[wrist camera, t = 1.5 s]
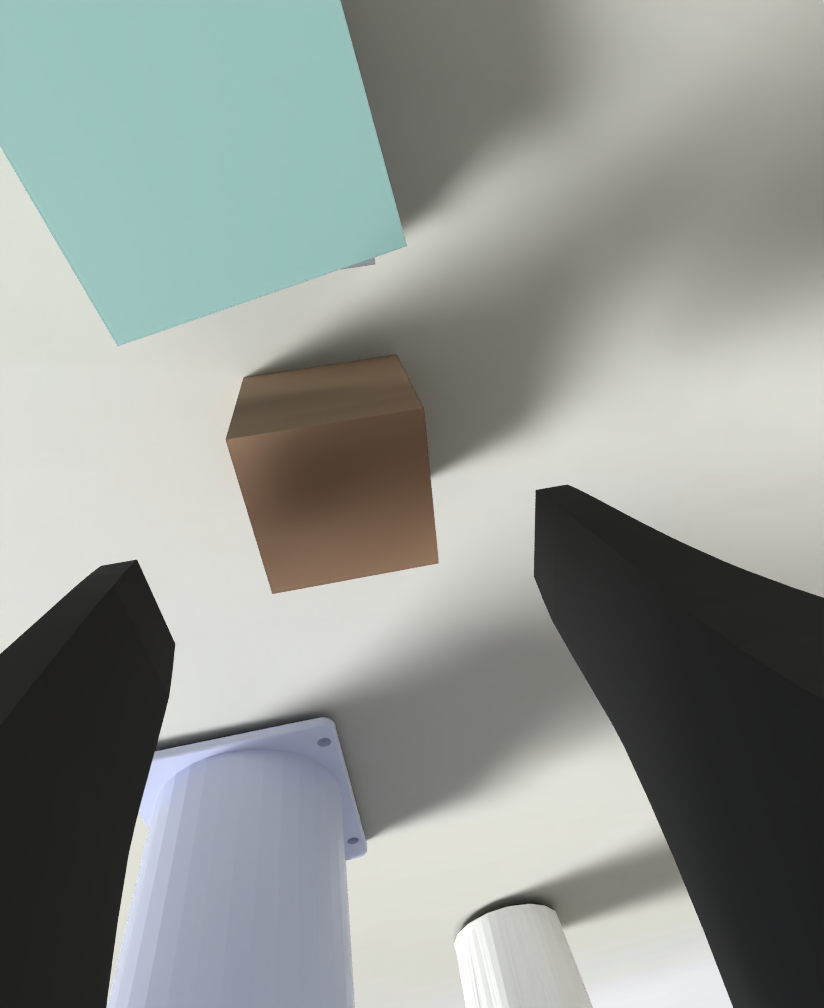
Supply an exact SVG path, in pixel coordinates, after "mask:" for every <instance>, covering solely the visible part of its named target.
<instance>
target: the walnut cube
mask: <svg viewBox="0 0 824 1008" xmlns="http://www.w3.org/2000/svg"><path fill="white" fill-rule="evenodd" d="M226 443H227V446H228V449H229V452H230V456H231V459H232V462H233V466H234V469H235V472H236V476H237V479H238V482H239V485H240V489H241V492H242V495H243V499H244V502H245V505H246V508H247V512H248V515H249V518H250V522H251V525H252V528H253V532H254V535H255V538H256V541H257V545H258V548H259V551H260V555H261V558H262V561H263V565H264V568H265V571H266V574H267V578H268V581H269V584H270V588H271V591H272V594H275V593H280V592H286V591H291V590H296V589H302V588H307V587H313V586H318V585H323V584H329V583H334V582H340V581H345V580H351V579H356V578H361V577H367V576H372V575H378V574H383V573H388V572H394V571H399V570H405V569H410V568H415V567H421V566H426V565H432V564H437V563H439V562H438V551H437V541H436V530H435V520H434V509H433V499H432V488H431V478H430V468H429V457H428V447H427V436H426V426H425V415H424V408H423V406H422V404H421V402H420V400H419V398H418V396H417V394H416V392H415V390H414V388H413V386H412V384H411V382H410V380H409V378H408V376H407V374H406V372H405V370H404V368H403V366H402V364H401V362H400V360H399V358H398V356H397V355H391V356H385V357H378V358H371V359H365V360H358V361H351V362H345V363H338V364H331V365H325V366H318V367H312V368H305V369H298V370H292V371H285V372H278V373H272V374H265V375H258V376H252V377H245V378H243V382H242V385H241V388H240V392H239V395H238V399H237V402H236V406H235V409H234V413H233V416H232V420H231V423H230V426H229V430H228V433H227V437H226Z"/></svg>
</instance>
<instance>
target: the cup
mask: <svg viewBox="0 0 824 1008" xmlns="http://www.w3.org/2000/svg"><path fill="white" fill-rule="evenodd" d="M454 946H455V949H456V952H457V958H458V963H459V969H460V975H461V981H462V986H463V992H464V998H465V1004H466V1008H593V1007H592V1004H591V1001H590V999H589V996H588V994H587V991H586V988H585V986H584V983H583V981H582V978H581V976H580V973H579V970H578V968H577V965H576V963H575V960H574V957H573V955H572V952H571V950H570V947H569V945H568V942H567V939H566V937H565V934H564V932H563V929H562V926H561V924H560V921H559V919H558V916H557V914H556V911H554V910H552V909H550V908H549V907H547V906H545V905H536V904H523V905H515V906H508V907H505V908H502V909H498V910H495V911H492V912H489V913H486V914H485V915H483V916H481V917H479V918H477V919H476V920H474V921H472V922H470V923H469V924H468V925H467V926H466V927H464V928H463V929H462V930H461V931H460V932H459V933H458V935H457V938H456V941H455V944H454Z"/></svg>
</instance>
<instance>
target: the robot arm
mask: <svg viewBox="0 0 824 1008" xmlns="http://www.w3.org/2000/svg"><path fill="white" fill-rule="evenodd" d="M534 578H535V580H536V583H537V585H538V588H539V590H540V593H541V595H542V598H543V600H544V603H545V605H546V607H547V609H548V612H549V614H550V616H551V619H552V621H553V623H554V625H555V626H556V628H557V630H558V632H559V633H560V635H561V637H562V639H563V640H564V642H565V644H566V646H567V647H568V649H569V651H570V653H571V654H572V656H573V658H574V659H575V661H576V663H577V664H578V666H579V668H580V670H581V671H582V673H583V675H584V676H585V678H586V680H587V681H588V683H589V685H590V687H591V688H592V690H593V692H594V693H595V695H596V697H597V698H598V700H599V702H600V704H601V705H602V707H603V709H604V710H605V712H606V714H607V715H608V717H609V719H610V721H611V722H612V724H613V726H614V728H615V730H616V732H617V734H618V736H619V737H620V739H621V741H622V743H623V745H624V747H625V749H626V751H627V754H628V756H629V758H630V760H631V762H632V765H633V767H634V769H635V771H636V773H637V775H638V778H639V780H640V782H641V784H642V786H643V788H644V791H645V793H646V795H647V797H648V799H649V802H650V804H651V806H652V809H653V811H654V813H655V815H656V818H657V820H658V822H659V825H660V827H661V829H662V832H663V834H664V836H665V838H666V841H667V843H668V845H669V848H670V850H671V852H672V855H673V857H674V859H675V862H676V864H677V866H678V869H679V871H680V874H681V876H682V879H683V881H684V884H685V886H686V888H687V891H688V893H689V896H690V898H691V901H692V903H693V906H694V908H695V910H696V913H697V915H698V918H699V920H700V923H701V925H702V928H703V930H704V932H705V935H706V938H707V940H708V943H709V946H710V948H711V951H712V953H713V956H714V959H715V961H716V964H717V966H718V969H719V972H720V974H721V977H722V979H723V982H724V985H725V987H726V990H727V992H728V995H729V998H730V1000H731V1003H732V1005H733V1008H824V598H823V597H820V596H816V595H813V594H810V593H807V592H804V591H801V590H798V589H795V588H792V587H790V586H787V585H784V584H781V583H779V582H776V581H773V580H771V579H768V578H765V577H763V576H760V575H757V574H754V573H752V572H749V571H746V570H744V569H741V568H739V567H736V566H734V565H731V564H729V563H727V562H724V561H722V560H720V559H717V558H715V557H713V556H711V555H708V554H706V553H704V552H702V551H699V550H697V549H695V548H693V547H690V546H688V545H686V544H684V543H682V542H680V541H678V540H676V539H674V538H671V537H669V536H667V535H665V534H663V533H661V532H659V531H657V530H655V529H653V528H651V527H649V526H647V525H645V524H643V523H642V522H640V521H638V520H636V519H634V518H632V517H630V516H628V515H626V514H624V513H622V512H621V511H619V510H617V509H615V508H613V507H611V506H609V505H607V504H605V503H604V502H602V501H600V500H598V499H596V498H594V497H592V496H590V495H588V494H586V493H584V492H582V491H580V490H578V489H576V488H574V487H572V486H570V485H562V486H557V487H551V488H545V489H539V490H536V504H535V551H534ZM174 650H175V642H174V640H173V638H172V636H171V634H170V631H169V629H168V627H167V625H166V623H165V620H164V618H163V616H162V614H161V612H160V609H159V607H158V605H157V603H156V601H155V598H154V596H153V594H152V592H151V590H150V587H149V585H148V583H147V581H146V579H145V576H144V574H143V572H142V570H141V567H140V565H139V563H138V561H137V560H132V561H127V562H121V563H115V564H109V565H104V566H100V567H99V568H98V569H96V570H95V571H94V572H92V573H91V574H90V575H89V576H87V577H86V578H85V579H84V580H83V581H82V582H80V583H79V584H78V585H77V586H76V587H75V588H73V589H72V590H71V591H70V592H69V593H68V594H67V595H66V596H64V597H63V598H62V599H61V600H60V601H59V602H58V603H57V604H56V605H54V606H53V607H52V608H51V609H50V610H49V611H48V612H47V613H46V614H45V615H43V616H42V617H41V618H40V619H39V620H38V621H37V622H36V623H34V624H33V625H32V626H31V627H30V628H29V629H28V630H27V631H26V632H24V633H23V634H22V635H21V636H20V637H19V638H18V639H17V640H16V641H14V642H13V643H12V644H11V645H10V646H9V647H8V648H7V649H5V650H4V651H3V652H2V653H1V654H0V1008H106V1005H107V996H108V988H109V981H110V974H111V966H112V959H113V952H114V945H115V937H116V930H117V923H118V916H119V910H120V904H121V898H122V892H123V885H124V879H125V873H126V867H127V861H128V855H129V850H130V845H131V841H132V837H133V832H134V828H135V823H136V819H137V816H138V813H139V814H140V816H141V817H142V819H143V820H144V822H145V824H146V825H147V827H148V828H149V829H148V834H147V838H146V842H145V847H144V851H143V855H142V859H141V864H140V868H139V872H138V876H137V881H136V885H135V889H134V894H133V898H132V902H131V906H130V911H129V915H128V919H127V923H126V928H125V932H124V936H123V941H122V945H121V949H120V953H119V958H118V962H117V966H116V971H115V975H114V979H113V983H112V988H111V992H110V996H109V1000H108V1005H107V1008H355V1002H354V986H353V970H352V954H351V937H350V921H349V905H348V889H347V873H346V860H350V859H354V858H358V857H361V856H363V855H364V854H365V853H366V852H367V842H366V838H365V835H364V831H363V827H362V824H361V820H360V816H359V812H358V809H357V805H356V801H355V798H354V794H353V790H352V786H351V783H350V779H349V775H348V772H347V768H346V764H345V760H344V757H343V753H342V749H341V745H340V742H339V738H338V734H337V731H336V727H335V723H334V722H333V720H331V719H329V718H325V717H320V718H315V719H310V720H305V721H300V722H295V723H290V724H286V725H281V726H276V727H271V728H266V729H261V730H256V731H252V732H247V733H242V734H237V735H232V736H227V737H222V738H218V739H213V740H208V741H203V742H198V743H193V744H188V745H184V746H179V747H174V748H169V749H164V750H159V751H155V749H156V745H157V741H158V738H159V734H160V730H161V726H162V722H163V718H164V715H165V711H166V707H167V703H168V699H169V693H170V686H171V678H172V670H173V660H174Z"/></svg>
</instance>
